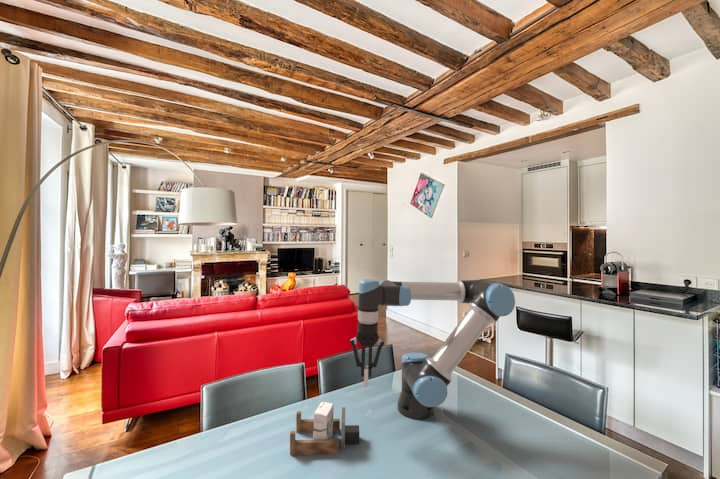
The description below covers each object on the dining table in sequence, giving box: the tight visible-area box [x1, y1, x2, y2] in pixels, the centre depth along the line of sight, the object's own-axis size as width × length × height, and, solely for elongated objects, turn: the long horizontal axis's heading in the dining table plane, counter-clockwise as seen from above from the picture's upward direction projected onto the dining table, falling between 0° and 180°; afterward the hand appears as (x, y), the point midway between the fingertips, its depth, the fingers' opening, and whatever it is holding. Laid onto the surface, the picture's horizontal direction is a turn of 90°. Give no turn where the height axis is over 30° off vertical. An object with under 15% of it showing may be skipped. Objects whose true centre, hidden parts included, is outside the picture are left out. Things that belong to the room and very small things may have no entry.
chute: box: [289, 410, 341, 456], centre depth 108 cm, size 16×14×7 cm
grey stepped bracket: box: [340, 406, 360, 450], centre depth 109 cm, size 6×10×9 cm, turn 2°
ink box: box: [312, 401, 335, 440], centre depth 108 cm, size 9×5×12 cm, turn 168°
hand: (365, 385), depth 114 cm, fingers closed
